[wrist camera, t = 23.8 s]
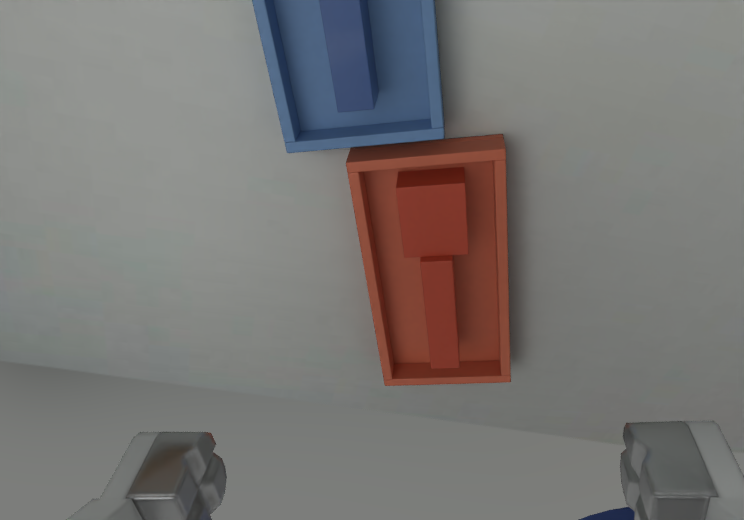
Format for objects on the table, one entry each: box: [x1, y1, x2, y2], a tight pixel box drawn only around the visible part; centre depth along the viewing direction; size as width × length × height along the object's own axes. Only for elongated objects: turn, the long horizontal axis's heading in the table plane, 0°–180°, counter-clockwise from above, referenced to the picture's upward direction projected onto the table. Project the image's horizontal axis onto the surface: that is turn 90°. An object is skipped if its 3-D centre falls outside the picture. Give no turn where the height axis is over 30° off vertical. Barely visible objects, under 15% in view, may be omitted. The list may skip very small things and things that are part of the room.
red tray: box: [346, 134, 511, 386], centre depth 36 cm, size 16×8×2 cm, turn 8°
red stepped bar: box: [396, 167, 469, 369], centre depth 36 cm, size 12×4×2 cm, turn 7°
